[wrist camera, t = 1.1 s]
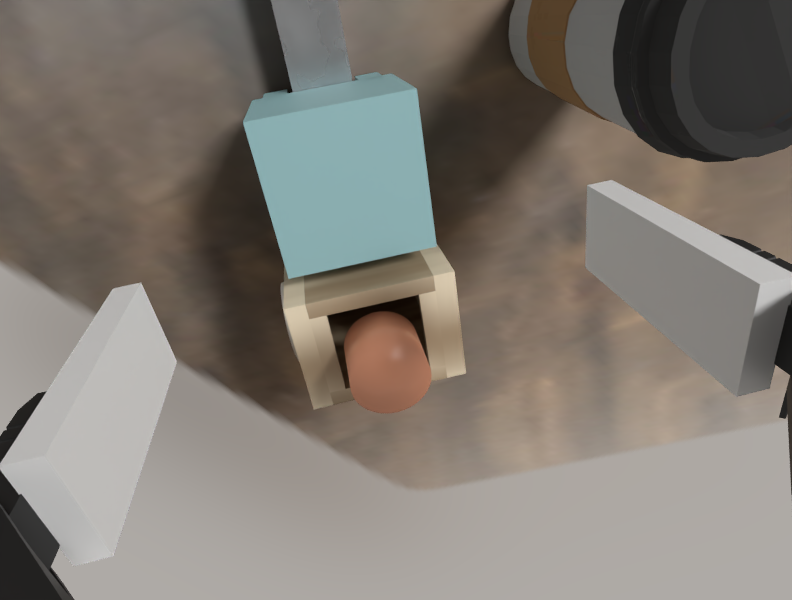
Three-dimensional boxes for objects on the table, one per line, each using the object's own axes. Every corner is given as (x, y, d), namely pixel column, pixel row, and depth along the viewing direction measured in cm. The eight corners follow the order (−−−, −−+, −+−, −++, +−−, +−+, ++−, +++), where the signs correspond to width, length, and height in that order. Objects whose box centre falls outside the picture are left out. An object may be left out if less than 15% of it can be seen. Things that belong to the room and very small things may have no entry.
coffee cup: (533, 135, 31) (705, 223, 18) (457, 7, 27) (608, 4, 14) (654, 40, 30) (935, 61, 17) (593, -110, 26) (897, -232, 13)
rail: (181, -383, 20) (157, -467, 16) (261, -392, 20) (255, -478, 16) (331, 250, 32) (336, 278, 29) (378, 239, 33) (389, 266, 29)
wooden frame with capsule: (278, 237, 31) (274, 311, 24) (414, 208, 32) (454, 271, 24) (302, 321, 34) (306, 411, 27) (426, 293, 35) (465, 373, 27)
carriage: (254, 95, 27) (242, 122, 21) (386, 70, 28) (416, 88, 21) (288, 221, 31) (288, 278, 24) (405, 196, 31) (436, 246, 25)
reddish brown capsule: (336, 320, 24) (342, 357, 22) (411, 303, 25) (426, 337, 22) (351, 380, 26) (358, 421, 24) (421, 364, 27) (436, 402, 24)
